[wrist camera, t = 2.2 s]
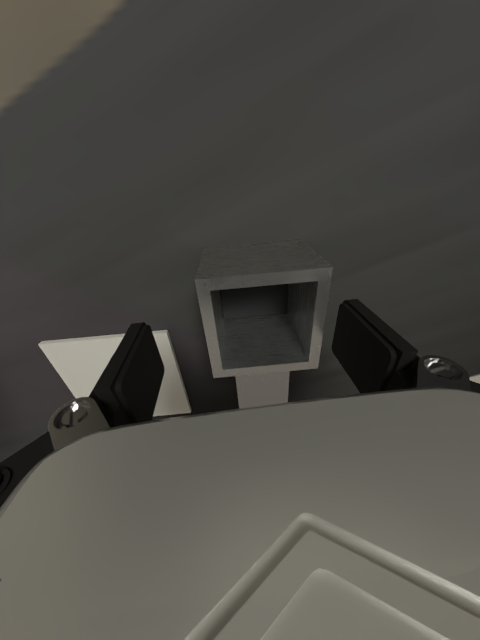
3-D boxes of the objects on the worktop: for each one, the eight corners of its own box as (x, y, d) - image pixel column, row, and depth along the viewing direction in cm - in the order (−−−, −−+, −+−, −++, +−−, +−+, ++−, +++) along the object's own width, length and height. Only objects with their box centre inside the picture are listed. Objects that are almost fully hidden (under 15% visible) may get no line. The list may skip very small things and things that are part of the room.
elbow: (204, 247, 15) (194, 279, 10) (299, 239, 15) (333, 267, 10) (224, 376, 21) (224, 432, 16) (290, 370, 21) (309, 424, 16)
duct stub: (167, 329, 18) (142, 395, 13) (191, 409, 23) (181, 479, 18) (41, 341, 18) (-39, 412, 12) (94, 418, 23) (54, 491, 18)
